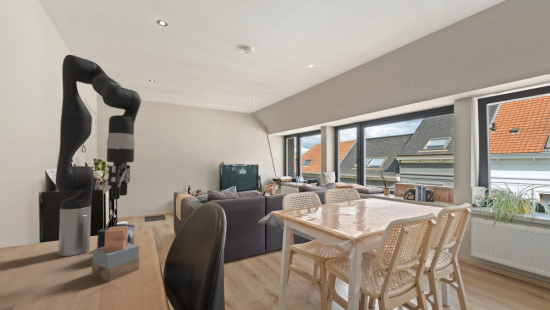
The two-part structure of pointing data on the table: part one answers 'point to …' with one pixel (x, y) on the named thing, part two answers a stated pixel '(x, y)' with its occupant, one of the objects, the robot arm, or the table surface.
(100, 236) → the small box
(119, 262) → the tower top
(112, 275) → the tower base
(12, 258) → the table surface
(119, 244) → the terracotta block
